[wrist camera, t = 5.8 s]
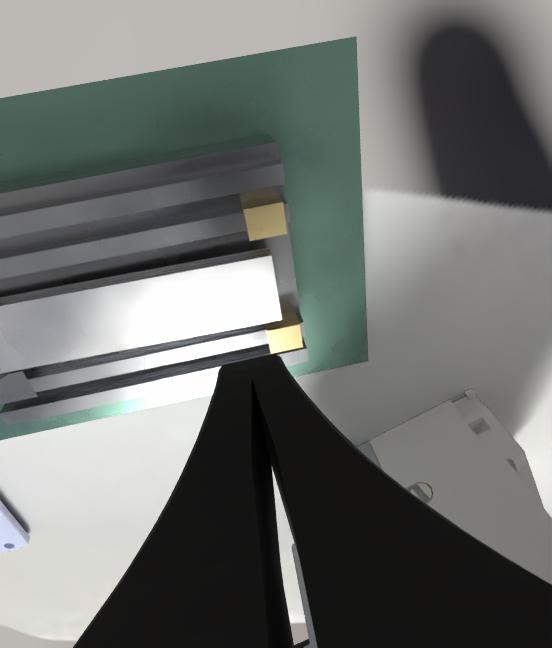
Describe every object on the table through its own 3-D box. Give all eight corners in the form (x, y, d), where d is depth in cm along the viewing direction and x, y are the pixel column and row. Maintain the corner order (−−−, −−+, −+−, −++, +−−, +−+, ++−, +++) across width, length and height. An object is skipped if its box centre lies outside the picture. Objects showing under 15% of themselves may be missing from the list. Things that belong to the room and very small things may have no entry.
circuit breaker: (256, 497, 26) (310, 910, 13) (471, 388, 24) (779, 753, 11) (311, 549, 30) (393, 907, 17) (500, 459, 28) (753, 790, 15)
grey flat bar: (-10, 368, 15) (-22, 384, 14) (-54, 299, 13) (-70, 314, 13) (279, 313, 15) (283, 326, 14) (268, 240, 14) (271, 250, 13)
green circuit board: (-4, 427, 20) (-45, 499, 17) (-211, 135, 13) (-352, 159, 10) (361, 349, 21) (391, 403, 18) (347, 38, 14) (393, 29, 11)
